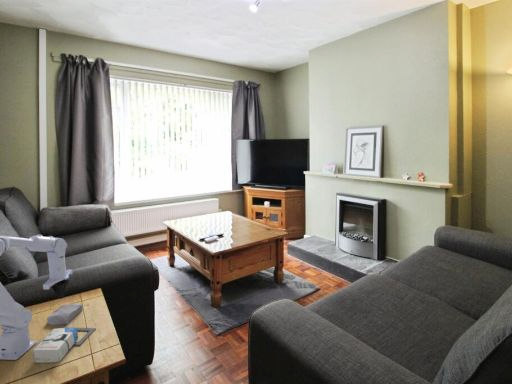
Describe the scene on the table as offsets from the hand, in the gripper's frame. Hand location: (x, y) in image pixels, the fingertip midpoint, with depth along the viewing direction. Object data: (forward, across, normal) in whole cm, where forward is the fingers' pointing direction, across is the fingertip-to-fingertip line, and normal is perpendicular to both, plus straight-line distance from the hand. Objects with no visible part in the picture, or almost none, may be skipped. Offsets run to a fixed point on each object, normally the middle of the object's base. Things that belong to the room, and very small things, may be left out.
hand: (60, 297), depth 124 cm
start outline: (+10, -10, -10) cm, 18 cm away
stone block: (+11, +3, +2) cm, 11 cm away
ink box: (+8, -12, -10) cm, 18 cm away
